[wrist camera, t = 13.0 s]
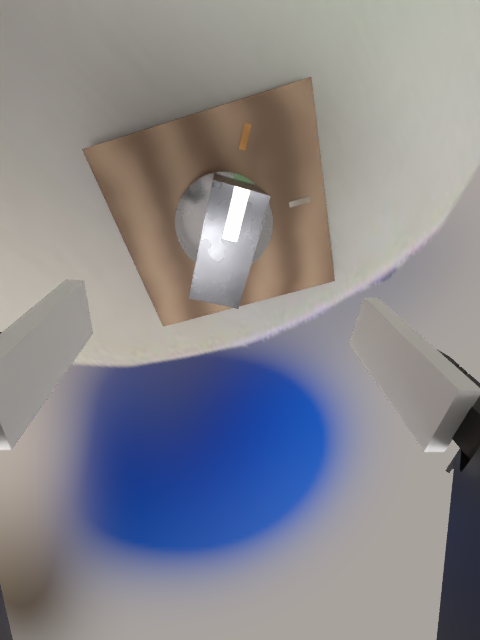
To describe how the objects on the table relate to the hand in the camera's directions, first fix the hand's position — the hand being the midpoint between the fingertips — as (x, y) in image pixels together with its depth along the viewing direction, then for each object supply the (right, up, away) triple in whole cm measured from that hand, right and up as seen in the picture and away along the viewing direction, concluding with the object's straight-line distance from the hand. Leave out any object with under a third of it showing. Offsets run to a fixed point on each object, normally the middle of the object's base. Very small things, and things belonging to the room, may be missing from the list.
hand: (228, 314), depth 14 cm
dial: (-1, +11, +21) cm, 23 cm away
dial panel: (-1, +13, +23) cm, 27 cm away
